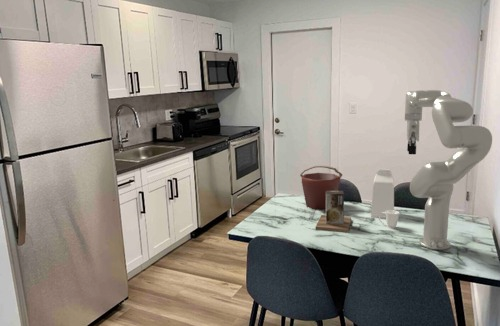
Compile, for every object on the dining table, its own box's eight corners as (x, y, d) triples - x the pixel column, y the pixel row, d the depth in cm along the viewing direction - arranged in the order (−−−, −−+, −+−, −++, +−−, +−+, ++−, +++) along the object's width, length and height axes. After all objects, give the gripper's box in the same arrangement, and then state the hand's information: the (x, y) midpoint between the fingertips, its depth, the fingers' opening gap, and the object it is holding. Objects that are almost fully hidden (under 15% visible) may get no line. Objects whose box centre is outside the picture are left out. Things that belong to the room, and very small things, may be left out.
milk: (370, 217, 212) (372, 170, 208) (371, 211, 223) (373, 167, 218) (394, 218, 208) (396, 171, 204) (393, 212, 219) (395, 167, 215)
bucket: (345, 204, 238) (346, 164, 234) (333, 213, 219) (334, 170, 215) (308, 199, 250) (308, 161, 246) (294, 208, 231) (294, 167, 227)
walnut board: (348, 232, 189) (348, 229, 189) (315, 229, 194) (315, 226, 194) (351, 219, 208) (351, 217, 207) (321, 217, 213) (321, 214, 213)
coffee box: (342, 220, 203) (343, 190, 200) (343, 224, 197) (344, 193, 194) (325, 219, 204) (325, 190, 202) (325, 223, 198) (326, 193, 195)
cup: (396, 230, 190) (397, 214, 189) (376, 226, 196) (376, 211, 195) (400, 226, 196) (401, 211, 194) (381, 223, 202) (382, 208, 200)
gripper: (423, 118, 174) (421, 155, 177) (420, 116, 191) (418, 150, 193) (405, 118, 177) (404, 155, 180) (403, 116, 193) (402, 150, 196)
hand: (411, 152), depth 187 cm, fingers open, 9 cm apart
